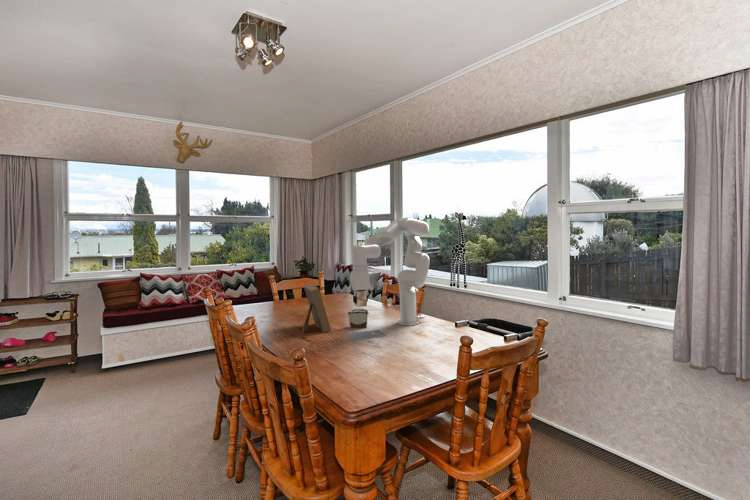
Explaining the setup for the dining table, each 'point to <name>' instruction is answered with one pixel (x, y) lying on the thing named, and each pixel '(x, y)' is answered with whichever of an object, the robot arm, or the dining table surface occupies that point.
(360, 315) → the food container
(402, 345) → the dining table surface
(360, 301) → the birch block
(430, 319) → the dining table surface
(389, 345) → the dining table surface
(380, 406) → the dining table surface
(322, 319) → the photo frame
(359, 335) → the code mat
